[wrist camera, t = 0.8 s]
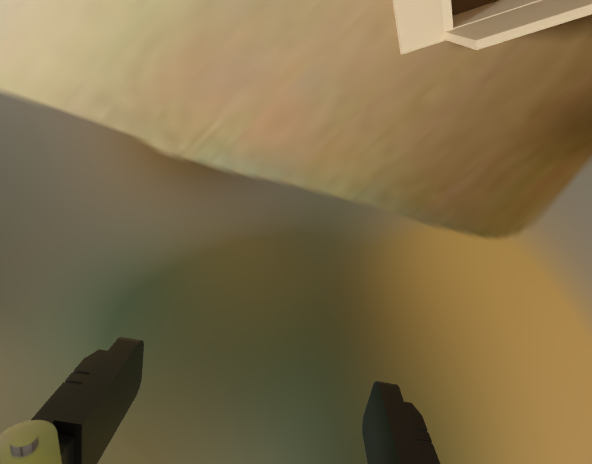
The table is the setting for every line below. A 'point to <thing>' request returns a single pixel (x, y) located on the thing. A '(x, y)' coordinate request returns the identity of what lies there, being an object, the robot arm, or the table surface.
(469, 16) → the carton
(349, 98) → the table surface
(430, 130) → the table surface
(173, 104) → the table surface
